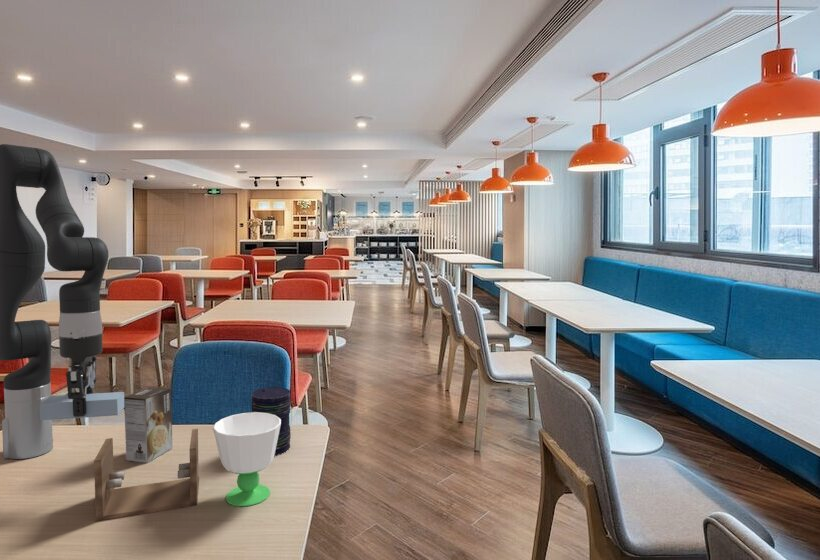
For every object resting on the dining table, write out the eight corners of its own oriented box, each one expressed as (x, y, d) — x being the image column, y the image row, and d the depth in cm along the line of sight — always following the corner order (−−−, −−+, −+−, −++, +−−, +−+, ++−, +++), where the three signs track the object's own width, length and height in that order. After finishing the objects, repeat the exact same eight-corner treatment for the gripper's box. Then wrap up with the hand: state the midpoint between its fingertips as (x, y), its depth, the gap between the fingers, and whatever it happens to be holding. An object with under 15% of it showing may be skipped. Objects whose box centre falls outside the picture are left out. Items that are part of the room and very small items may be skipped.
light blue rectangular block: (40, 420, 100) (39, 403, 100) (51, 411, 105) (50, 395, 105) (117, 415, 104) (117, 399, 104) (124, 407, 109) (124, 391, 109)
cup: (293, 486, 110) (293, 416, 108) (255, 518, 97) (255, 440, 95) (242, 475, 114) (241, 408, 113) (199, 505, 101) (198, 430, 100)
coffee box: (151, 445, 129) (150, 385, 128) (173, 448, 128) (172, 387, 127) (124, 460, 120) (123, 396, 119) (147, 463, 119) (146, 398, 118)
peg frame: (95, 521, 95) (93, 460, 94) (107, 493, 105) (105, 438, 104) (197, 504, 101) (196, 448, 100) (199, 480, 111) (198, 428, 111)
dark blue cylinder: (298, 446, 131) (298, 391, 130) (269, 460, 122) (269, 401, 121) (272, 437, 136) (272, 384, 135) (243, 450, 128) (242, 393, 127)
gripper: (69, 327, 109) (72, 402, 110) (48, 340, 95) (51, 425, 97) (108, 326, 112) (110, 399, 113) (93, 338, 98) (96, 420, 99)
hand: (83, 410), depth 105 cm, fingers closed on light blue rectangular block, 5 cm apart
